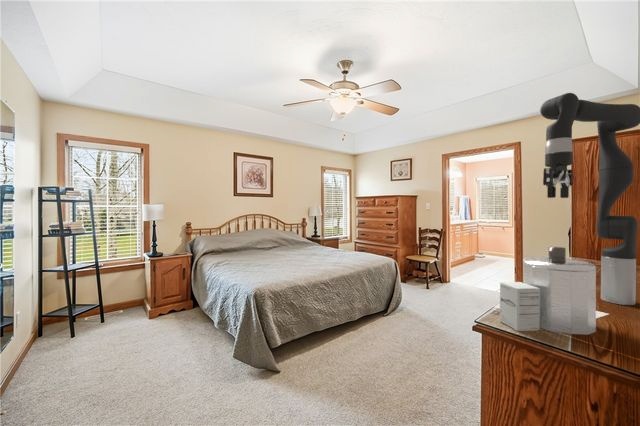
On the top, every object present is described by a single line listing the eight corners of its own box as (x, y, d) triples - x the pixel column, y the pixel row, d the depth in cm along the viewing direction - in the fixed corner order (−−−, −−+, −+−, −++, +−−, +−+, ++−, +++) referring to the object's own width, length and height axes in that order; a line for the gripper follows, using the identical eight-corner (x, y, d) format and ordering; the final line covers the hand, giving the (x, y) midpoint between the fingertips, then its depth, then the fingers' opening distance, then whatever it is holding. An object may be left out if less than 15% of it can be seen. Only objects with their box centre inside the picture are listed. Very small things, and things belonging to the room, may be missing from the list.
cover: (541, 309, 98) (541, 242, 98) (607, 327, 83) (607, 248, 82) (511, 318, 91) (511, 246, 90) (577, 340, 76) (577, 254, 75)
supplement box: (498, 321, 89) (499, 281, 88) (520, 320, 89) (520, 281, 89) (516, 331, 81) (517, 288, 81) (540, 330, 82) (541, 287, 82)
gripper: (556, 155, 107) (556, 198, 107) (535, 152, 101) (534, 198, 101) (581, 152, 100) (581, 197, 100) (560, 148, 94) (559, 197, 94)
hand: (558, 197), depth 101 cm, fingers open, 8 cm apart
